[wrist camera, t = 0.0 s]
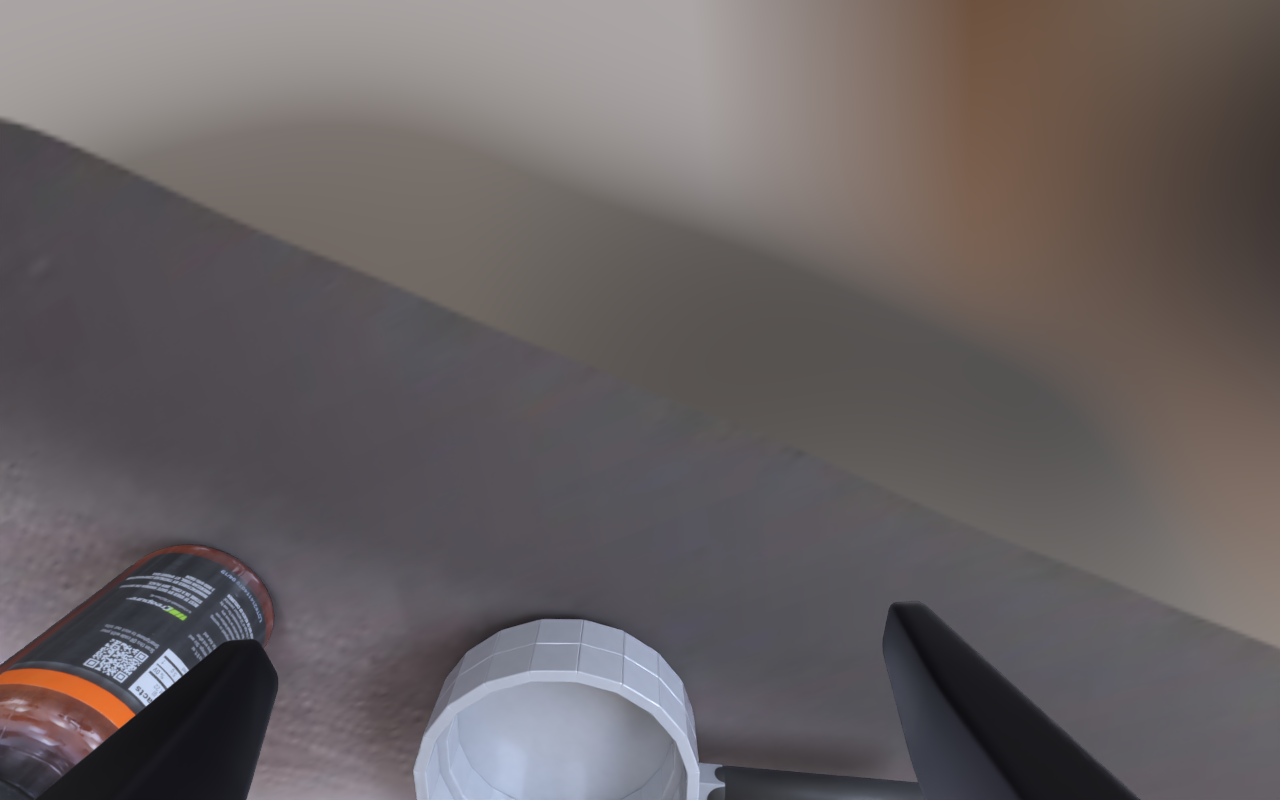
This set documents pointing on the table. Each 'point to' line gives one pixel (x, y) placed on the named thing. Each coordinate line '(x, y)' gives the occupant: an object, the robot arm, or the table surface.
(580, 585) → the table surface
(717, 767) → the pan handle
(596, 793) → the pan
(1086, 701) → the table surface
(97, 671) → the supplement bottle
